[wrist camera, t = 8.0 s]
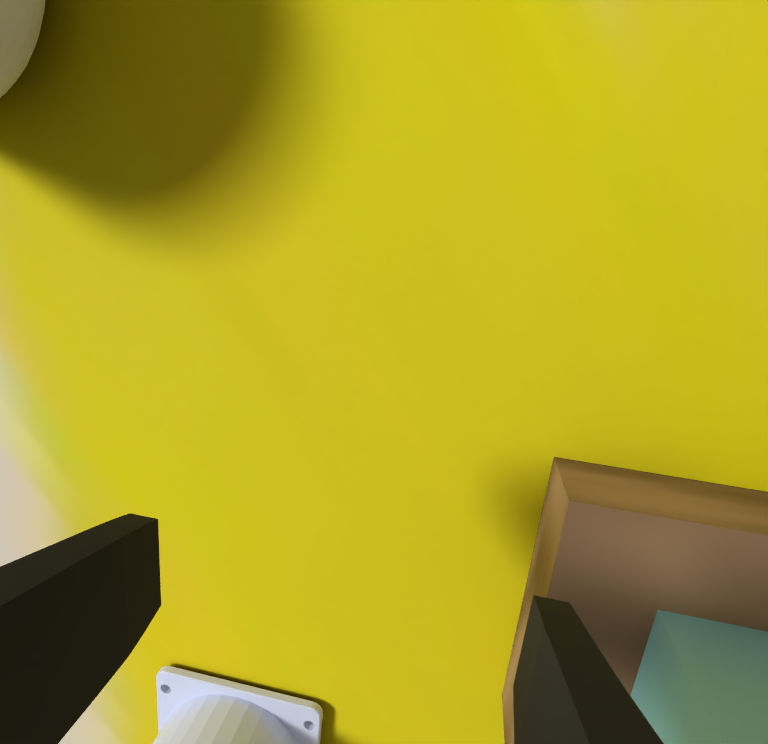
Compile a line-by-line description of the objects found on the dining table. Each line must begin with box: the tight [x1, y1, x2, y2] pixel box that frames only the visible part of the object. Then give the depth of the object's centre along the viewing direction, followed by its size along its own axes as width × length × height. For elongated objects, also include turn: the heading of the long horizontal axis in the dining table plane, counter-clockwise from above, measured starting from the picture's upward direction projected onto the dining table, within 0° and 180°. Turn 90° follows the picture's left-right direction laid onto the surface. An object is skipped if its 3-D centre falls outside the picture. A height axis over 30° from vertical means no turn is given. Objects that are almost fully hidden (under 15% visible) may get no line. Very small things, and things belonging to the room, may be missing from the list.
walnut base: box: [502, 457, 768, 744], centre depth 17 cm, size 11×11×3 cm
